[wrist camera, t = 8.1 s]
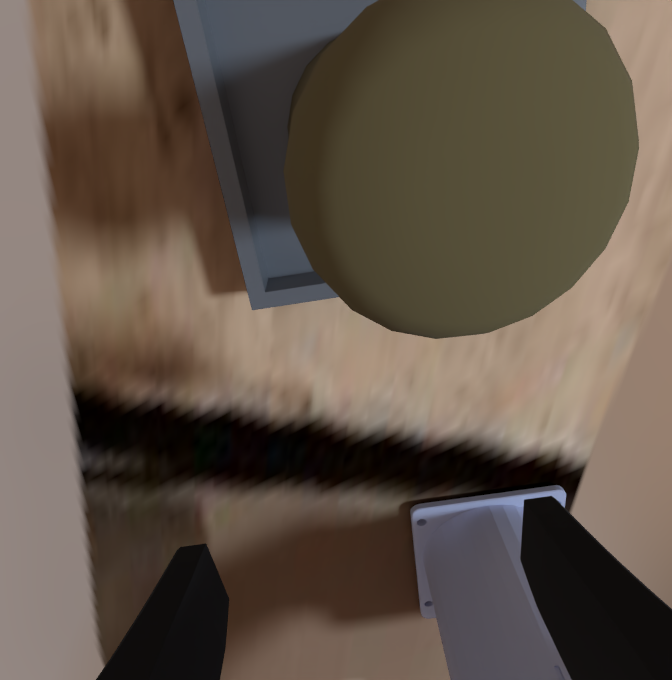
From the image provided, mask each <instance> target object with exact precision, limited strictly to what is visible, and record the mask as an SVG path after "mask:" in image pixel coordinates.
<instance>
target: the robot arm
mask: <svg viewBox="0 0 672 680" xmlns="http://www.w3.org/2000/svg"><path fill="white" fill-rule="evenodd" d="M565 500H566V493H565V491H564V489H563V488H562V487H561V486H558V485H553V486H545V487H538V488H531V489H524V490H516V491H509V492H502V493H494V494H487V495H480V496H473V497H465V498H458V499H451V500H443V501H436V502H429V503H422V504H417V505H415V506H413V507H412V508H411V510H410V515H411V525H412V535H413V544H414V554H415V564H416V574H417V584H418V593H419V603H420V611H421V615H422V616H423V617H424V618H437V623H438V627H439V631H440V636H441V640H442V644H443V649H444V653H445V657H446V662H447V666H448V670H449V674H450V679H451V680H672V609H671V608H670V607H669V606H668V605H666V604H665V603H664V602H663V601H662V600H661V599H660V598H658V597H657V596H656V595H655V594H654V593H653V592H652V591H651V590H650V589H648V588H647V587H646V586H645V585H644V584H643V583H642V582H641V581H639V579H637V578H636V577H635V576H634V575H633V574H632V573H631V572H630V571H629V570H628V569H626V568H625V567H624V566H623V565H622V564H621V563H620V562H619V561H618V560H617V559H616V558H615V557H614V556H613V555H612V554H611V553H610V552H608V551H607V550H606V549H605V548H604V547H603V546H602V545H601V544H600V543H599V542H598V541H597V540H596V539H595V538H594V537H593V536H592V535H591V534H590V533H589V532H588V531H587V530H586V529H585V528H584V527H583V526H582V525H581V524H580V523H579V522H578V521H577V520H576V519H575V518H574V517H573V516H572V515H571V514H570V513H569V512H568V511H567V510H566V509H565ZM420 519H422V520H420ZM228 607H229V597H228V595H227V593H226V590H225V588H224V585H223V583H222V581H221V578H220V576H219V573H218V571H217V569H216V566H215V564H214V561H213V559H212V557H211V554H210V552H209V549H208V547H207V545H206V544H200V545H193V546H185V547H180V548H179V549H178V550H177V551H176V553H175V555H174V556H173V558H172V560H171V562H170V563H169V565H168V567H167V568H166V570H165V572H164V573H163V575H162V577H161V578H160V580H159V582H158V584H157V585H156V587H155V589H154V590H153V592H152V594H151V595H150V597H149V598H148V600H147V602H146V603H145V605H144V607H143V608H142V610H141V612H140V613H139V615H138V616H137V618H136V620H135V621H134V623H133V624H132V626H131V627H130V629H129V631H128V632H127V634H126V635H125V637H124V638H123V640H122V642H121V643H120V645H119V646H118V648H117V649H116V651H115V652H114V654H113V656H112V657H111V659H110V660H109V662H108V663H107V664H106V666H105V667H104V669H103V670H102V672H101V673H100V675H99V676H98V678H97V679H96V680H220V675H221V670H222V664H223V658H224V653H225V645H226V634H227V622H228Z"/></svg>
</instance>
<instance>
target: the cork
mask: <svg viewBox="0 0 672 680" xmlns="http://www.w3.org/2000/svg"><path fill="white" fill-rule="evenodd" d="M287 128H288V136H289V139H288V145H287V151H286V158H285V164H284V170H283V172H284V179H285V185H286V192H287V199H288V206H289V213H290V220H291V225H292V227H293V230H294V232H295V234H296V236H297V238H298V240H299V242H300V244H301V246H302V248H303V250H304V252H305V254H306V256H307V258H308V260H309V262H310V265H311V267H312V269H313V270H314V271H315V272H316V273H317V274H318V275H319V276H320V277H321V278H322V279H323V280H324V281H325V282H326V284H327V285H328V286H329V287H330V288H331V289H332V290H333V291H334V292H335V293H336V294H337V295H338V296H339V297H340V298H341V299H342V300H343V301H344V302H345V303H346V304H347V305H348V306H349V307H350V308H351V309H352V310H353V311H355V312H357V313H359V314H361V315H363V316H365V317H366V318H368V319H370V320H372V321H374V322H376V323H378V324H380V325H382V326H384V327H386V328H387V329H389V330H391V331H396V332H401V333H407V334H412V335H418V336H423V337H429V338H434V339H438V338H448V337H457V336H467V335H476V334H484V333H489V332H492V331H494V330H497V329H499V328H502V327H504V326H507V325H510V324H512V323H515V322H517V321H520V320H523V319H525V318H528V317H530V316H533V315H534V314H535V313H537V312H538V311H540V310H541V309H542V308H544V307H545V306H547V305H548V304H549V303H551V302H552V301H554V300H555V299H557V298H558V297H559V296H561V295H562V294H564V293H565V292H566V291H568V290H569V289H571V288H572V287H573V286H574V284H575V283H576V282H577V281H578V280H579V279H580V277H581V276H582V275H583V274H584V273H585V272H586V271H587V269H588V268H589V267H590V266H591V265H592V264H593V262H594V261H595V260H596V259H597V258H598V257H599V255H600V254H601V253H602V252H603V251H604V250H605V248H606V246H607V244H608V242H609V240H610V238H611V236H612V234H613V232H614V230H615V228H616V226H617V224H618V222H619V220H620V218H621V216H622V214H623V212H624V210H625V208H626V206H627V204H628V202H629V196H630V191H631V186H632V181H633V176H634V171H635V165H636V160H637V155H638V150H639V139H638V130H637V121H636V112H635V103H634V95H633V86H632V80H631V78H630V76H629V74H628V72H627V70H626V68H625V66H624V64H623V62H622V60H621V58H620V56H619V54H618V52H617V50H616V48H615V46H614V44H613V42H612V40H611V38H610V36H609V34H608V32H607V30H606V28H605V27H603V26H602V25H601V24H600V23H599V22H598V21H596V20H595V19H594V18H593V17H592V16H591V15H589V14H588V13H587V12H586V11H585V10H584V9H582V8H581V7H580V6H579V5H578V4H577V3H576V2H574V1H573V0H378V1H376V2H375V3H373V4H371V5H369V6H367V7H366V8H365V9H364V10H363V11H362V12H361V13H360V14H359V15H358V16H357V17H356V18H355V19H354V20H353V22H352V23H351V24H350V25H349V26H348V27H347V28H346V29H345V30H344V31H343V32H342V33H341V34H340V35H339V36H338V37H337V38H336V39H334V40H332V41H330V42H329V43H328V44H327V45H326V46H325V47H324V48H323V49H322V50H321V51H320V52H319V53H318V54H317V55H316V56H315V57H314V58H313V59H312V60H311V62H310V63H309V64H308V65H307V66H306V68H305V70H304V72H303V74H302V76H301V78H300V80H299V82H298V84H297V86H296V89H295V91H294V93H293V95H292V100H291V107H290V113H289V119H288V126H287Z"/></svg>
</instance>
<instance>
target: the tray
mask: <svg viewBox="0 0 672 680" xmlns="http://www.w3.org/2000/svg"><path fill="white" fill-rule="evenodd" d="M173 1H174V5H175V9H176V13H177V17H178V21H179V25H180V29H181V33H182V37H183V41H184V44H185V48H186V52H187V56H188V60H189V64H190V68H191V72H192V76H193V80H194V84H195V88H196V92H197V95H198V99H199V103H200V107H201V111H202V115H203V119H204V123H205V127H206V131H207V135H208V139H209V143H210V147H211V150H212V154H213V158H214V162H215V166H216V170H217V174H218V178H219V182H220V186H221V190H222V194H223V198H224V201H225V205H226V209H227V213H228V217H229V221H230V225H231V229H232V233H233V237H234V241H235V245H236V249H237V253H238V256H239V260H240V264H241V268H242V272H243V276H244V280H245V284H246V288H247V292H248V296H249V300H250V304H251V307H252V310H257V309H263V308H270V307H277V306H283V305H290V304H296V303H303V302H309V301H316V300H322V299H329V298H336V297H339V296H338V295H337V294H336V293H335V292H334V291H333V290H332V289H331V288H330V287H329V286H328V285H327V284H326V282H325V281H324V280H323V279H322V278H321V277H320V276H319V275H318V274H317V273H316V272H315V271H314V270H313V269H312V267H311V265H310V262H309V260H308V258H307V256H306V254H305V252H304V250H303V248H302V246H301V244H300V242H299V240H298V238H297V236H296V234H295V232H294V230H293V227H292V225H291V220H290V213H289V206H288V199H287V192H286V185H285V179H284V172H283V170H284V164H285V158H286V151H287V145H288V139H289V136H288V128H287V126H288V119H289V113H290V107H291V100H292V95H293V93H294V91H295V89H296V86H297V84H298V82H299V80H300V78H301V76H302V74H303V72H304V70H305V68H306V66H307V65H308V64H309V63H310V62H311V60H312V59H313V58H314V57H315V56H316V55H317V54H318V53H319V52H320V51H321V50H322V49H323V48H324V47H325V46H326V45H327V44H328V43H329V42H330V41H332V40H334V39H336V38H337V37H338V36H339V35H340V34H341V33H342V32H343V31H344V30H345V29H346V28H347V27H348V26H349V25H350V24H351V23H352V22H353V20H354V19H355V18H356V17H357V16H358V15H359V14H360V13H361V12H362V11H363V10H364V9H365V8H366V7H367V6H369V5H371V4H373V3H375V2H376V1H378V0H173ZM573 1H574V2H576V3H577V4H578V5H579V6H580V7H581V8H582V9H584V10H585V11H586V0H573Z"/></svg>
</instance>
